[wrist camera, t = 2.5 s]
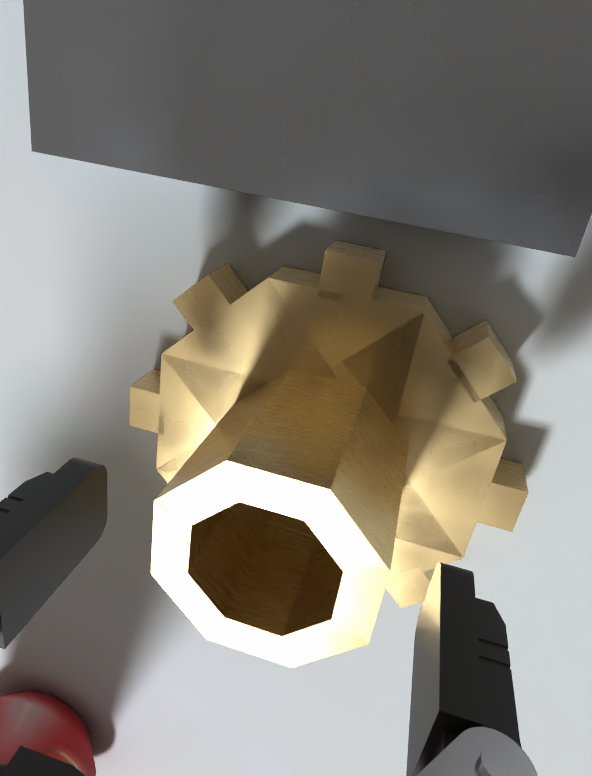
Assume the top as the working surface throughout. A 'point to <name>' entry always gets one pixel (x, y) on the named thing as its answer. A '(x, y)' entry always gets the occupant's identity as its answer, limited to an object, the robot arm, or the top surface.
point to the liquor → (44, 730)
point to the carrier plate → (334, 104)
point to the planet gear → (319, 454)
